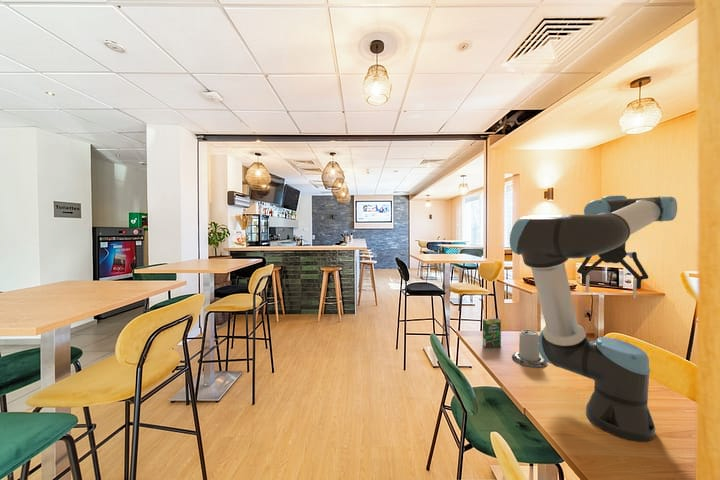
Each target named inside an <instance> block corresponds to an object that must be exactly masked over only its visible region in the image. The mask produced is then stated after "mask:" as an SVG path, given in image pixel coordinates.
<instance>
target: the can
mask: <svg viewBox="0 0 720 480" xmlns="http://www.w3.org/2000/svg"><path fill="white" fill-rule="evenodd" d="M539 335H540V334H539V332H538V331H535V330H533V329H522V330H521V332H520V333H519V343H518V344H519V347H518V348H519V350H518V352H519V356H520V357H521V358H522V359H524V360H527V361H534V362H537V361H538V360H539V356H540V352H539V349H538V343H539V341H538V338H539Z"/></svg>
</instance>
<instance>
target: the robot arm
mask: <svg viewBox="0 0 720 480" xmlns="http://www.w3.org/2000/svg"><path fill="white" fill-rule="evenodd" d="M677 214H678V202H677V199H676V197H673V196H656V197H655V196H652V197H640V198H628V197H627V196H625V195H606V196H602V197H601V199H594V200H591V201H589V202H587V203H586V205H585V206H584V208H583V214H553V215H547V214H546V215H539V214H538V215H537V214H534V215H527V216H525V215H524V216H522V217H520V218H518V219H517V220H516V221H515V223H513V226H512V227H511V231H510V233H509V246H510V250H511V251H512V252H513V253H514V254H516V255H519V256H520V255H521V257H522V261H523V263H524V265H525V266H526V267H529V268H530V270H531V273H532V276H533V280H534V283H535V284H534V285H535V289H536V292H537V296H538V300H539V303H540V308H541V311H542V315H543V319H544V322H545V326H544V327H543V330H541V332H540V333H539V334H538V335H539V338H538V341H539V343H538V349H539V356H541V357H542V358H543V359H544V360H545V361H546V362H547V364H548V363H549V364H551V365H552V366H554V367H557V368H561V369H563V370H566V371H569V372H572V373H574V374H577V375H580V376H581V377H585V378H588V379H591V380H592V381H594V385H593V386H594V387H593V391H592V393H591V396H590V398H589V399H588V401H587V404H586V407H585V411H586V412H585V415H586V417H587V419H588V420H589V421H590V422H591V423H592V424H594V426H596V427H598V429H599V428H600V429H601V430H603V431H604V432H607V433H608V434H610V435H614V436H616V437H619V438H621V439H626V440H629V441H633V442H650V441H652V440H654V439H655V438H656V427H655V423H654V421H653V417H652V414H651V412H650V409H649V405H648V401H649V400H648V398H649V384H650V374H651V369H650V358H649V356H648V354H647V353H646V352H645V351H644V350H643V349H642V348H640V347H638V346H636V345H635V344H633V343H630V342H627V341H624V340H621V339H618V338H612V337H609V336H608V337H607V336H602V337H601V336H600V337H598V338H596V339H592V338H589V337H587V332H586V330H585V328H584V327H583V326H582V325H580V324H579V323H578V319H577V314H576V311H575V306H574V302H573V301H574V300H573V297H572V291H571V287H570V283H569V277H568V273H567V269H566V264H565V263H566V262H567V261H568V260H569V259H583V258H584V261H582V263H581V265H580V266H579V268H578V269H577V272H576V273H578V274H581V275H582V283H583V284H585V293H589V292H590V274H589V273H590V272H591V271H592V270H594V269H595V268H596V267H598V265H600V264H601V263H602V262H604V263H605V264H606V263H607V264H609V263H611V264H619V263H620V264H621V265H622V266H623V267H624V268H625V269H626V270H627V271H628V272H629V273H630V274H631V275H632V276H633V277H634V279H633V287H632V289H633V293H632V297H633V299H636V298H637V290H641V288H642V281H643V280H648V279H649V275H648V273H647V272H646V270H645V269H644V267H643V265H642V264H641V262H640V261H639V258H638V254H637V252H636V251H631V252H627V251H626V243H627V241H628V240H629V238H630V236H631V235H633V234H635V233H637V232H638V231H641V230H642V229H643V228H645V227H647V226H649V225H651V224H653V223H654V222H660V223H661V222H671V221H673V220H675V218H677V217H676V216H677ZM594 256H598V257H599V259H597V261H595V262H594V263H593V264H592V265H590V266H589V267H588V268H587V269H586V270H584V269H585V268H586V266H587V264H588V263H589V261H590V260H591V259H592V257H594ZM626 257H629V259H632V261H633V262H634V264H635V265H636V267H637V269H638V270H639V272H640V274H639V273H637V271H636V270H635V269H634V268H632V266H630V264H628V263H627V262H626V260H625V259H624V258H626Z"/></svg>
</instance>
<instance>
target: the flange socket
mask: <svg viewBox="0 0 720 480" xmlns="http://www.w3.org/2000/svg"><path fill="white" fill-rule="evenodd" d="M511 359H512V360H513V362H515V363H517V364H519V365H521V366H524V367H528V368H533V369H534V368H535V369H542V368H545V367H547V365H548V362H546V361H545V360H544V359H543V358H542V356H541V355H539V360H538V361H537V362H534V361H527V360H524V359H522V358H521V357H520V356H519V351H517V352H514V353H513V354H511Z"/></svg>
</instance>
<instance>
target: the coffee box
mask: <svg viewBox="0 0 720 480" xmlns="http://www.w3.org/2000/svg"><path fill="white" fill-rule="evenodd" d="M501 342H502V320H501V319H499V318H488V319H487V318H486V319H482V346H483V347H484V348H486V349H487V348H488V349H489V348H501V347H502V343H501Z"/></svg>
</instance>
